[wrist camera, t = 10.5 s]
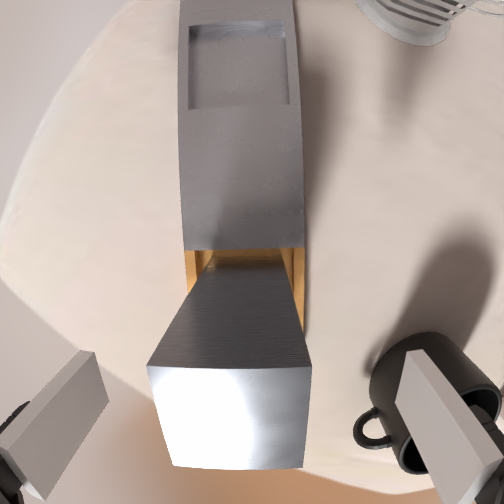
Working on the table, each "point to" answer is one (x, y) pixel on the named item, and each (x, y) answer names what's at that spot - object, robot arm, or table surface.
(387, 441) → the mug
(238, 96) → the rail
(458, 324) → the table surface
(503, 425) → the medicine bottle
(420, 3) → the french press
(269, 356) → the graphite post
